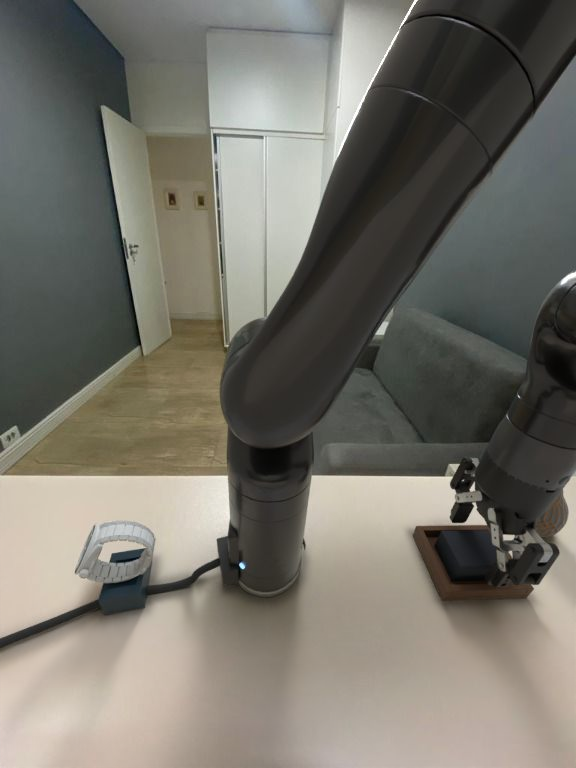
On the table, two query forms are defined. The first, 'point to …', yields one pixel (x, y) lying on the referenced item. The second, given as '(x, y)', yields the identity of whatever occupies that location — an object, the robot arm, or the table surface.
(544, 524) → the vase
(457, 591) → the brown tray
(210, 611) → the table surface
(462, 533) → the dark blue rectangular block
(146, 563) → the watch
